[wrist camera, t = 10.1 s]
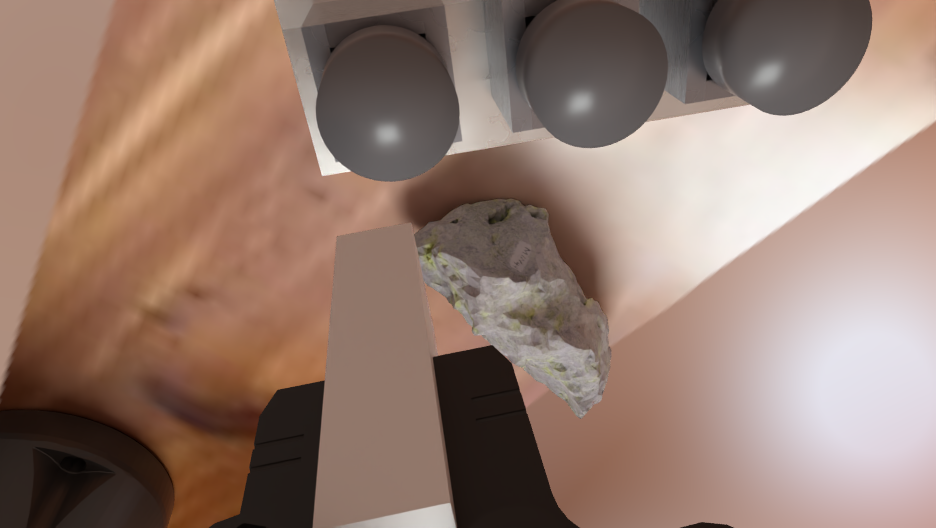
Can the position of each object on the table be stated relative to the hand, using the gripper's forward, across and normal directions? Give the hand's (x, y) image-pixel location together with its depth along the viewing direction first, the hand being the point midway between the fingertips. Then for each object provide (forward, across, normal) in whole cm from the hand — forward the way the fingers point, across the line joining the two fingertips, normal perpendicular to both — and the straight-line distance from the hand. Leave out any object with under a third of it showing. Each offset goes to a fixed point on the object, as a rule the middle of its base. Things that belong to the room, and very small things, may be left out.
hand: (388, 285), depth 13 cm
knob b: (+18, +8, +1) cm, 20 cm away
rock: (+19, +6, -13) cm, 24 cm away
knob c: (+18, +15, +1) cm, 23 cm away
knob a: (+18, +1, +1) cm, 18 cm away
